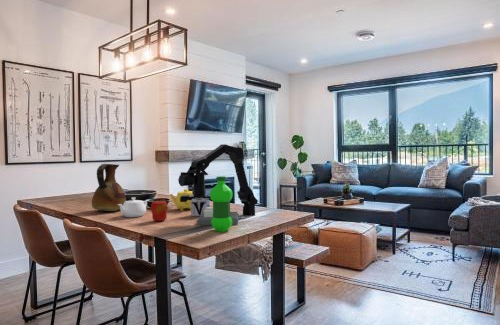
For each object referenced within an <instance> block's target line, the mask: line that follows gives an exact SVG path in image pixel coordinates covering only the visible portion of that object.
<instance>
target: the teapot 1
mask: <svg viewBox="0 0 500 325" xmlns="http://www.w3.org/2000/svg"><path fill="white" fill-rule="evenodd" d="M117 205H119V206H120V209H119V210H120V212H121V214H122V216H124V217H126V218H138V217H143V215H145V214H146V212H147V206H148V201H146V200H140V199H136V197H133V196H132V197H131V199H130V200H126V201H125V202H124V204H123V206H122V204H117Z"/></svg>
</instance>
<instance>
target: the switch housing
mask: <svg viewBox="0 0 500 325" xmlns="http://www.w3.org/2000/svg"><path fill="white" fill-rule="evenodd" d="M230 217H231V219H232V225H233V226H235V225H238V224H239V213H238V211H230ZM212 218H213V217H204V212H202V214H201V215H200V216H198V219H197V226H212V224H211V220H212Z"/></svg>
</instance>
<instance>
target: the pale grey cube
mask: <svg viewBox="0 0 500 325" xmlns="http://www.w3.org/2000/svg"><path fill="white" fill-rule="evenodd" d="M204 217H213V210H204Z"/></svg>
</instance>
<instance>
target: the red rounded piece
mask: <svg viewBox="0 0 500 325" xmlns="http://www.w3.org/2000/svg"><path fill="white" fill-rule="evenodd" d="M168 206H169V205H168V203H167V202H166V201H164V200H155V201H153V202H151V204H150V210H151V215H152V220H153V221H154V222H163V221H165V220H166V219H167V212H168Z"/></svg>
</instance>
